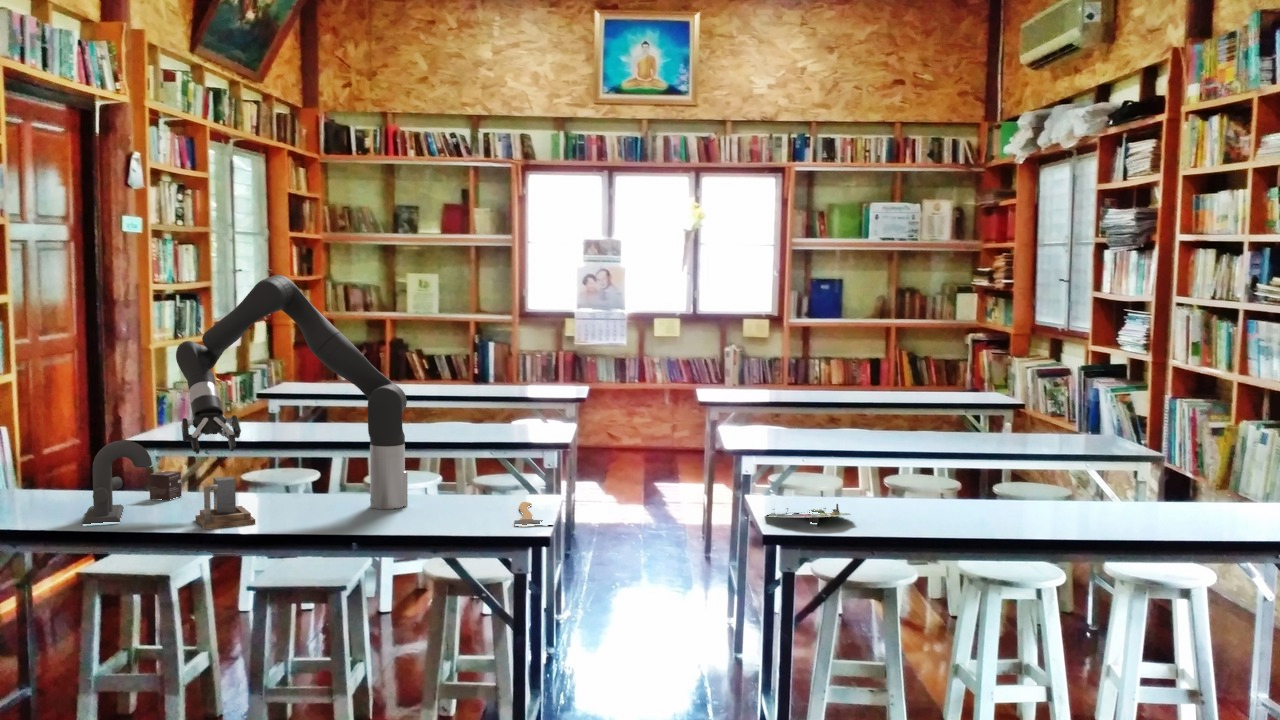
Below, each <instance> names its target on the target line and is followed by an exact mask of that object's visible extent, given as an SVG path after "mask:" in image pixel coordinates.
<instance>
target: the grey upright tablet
mask: <svg viewBox="0 0 1280 720" xmlns="http://www.w3.org/2000/svg"><path fill="white" fill-rule="evenodd" d="M213 485H218V489H216V490H213V509H214V516H216V515H226V514H235V513H236V504H237V503H236V478H235V477H233V475H232V476H218V477H213Z"/></svg>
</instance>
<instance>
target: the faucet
mask: <svg viewBox="0 0 1280 720" xmlns="http://www.w3.org/2000/svg"><path fill="white" fill-rule="evenodd" d="M120 458H126V459H128V460H130V461H131V463H132V464H133V466H134V467H136V468H151V466H153V461H152V458H151V456H150V454H149V452H148V451H147V449H145V448H144V446H143V445H140V444H139V443H137V442H134V441H130V440H125V439H124V440H123V439H122V440H115V441H112V442H110V443H107V444H105V445H104V446H103V447H102V448H101V449H100V450H98V452H97V454H96V455H95V456H94V458H93V459H94V460H93V462H92V499H93V504H92V506H89V507H88V508H87V511H86V513H85V514H84V518H83V520H82V522H81V525H82V524H91V523H103V522H120V523H121V521H120V518H121V519H122V517H121V515H122V516H123V514H122V512H123V513H124V511H123V509H124V510H125V508H124V505H122V504H113V503H114V501H113V491H115V490H119V489H121V488H122V487H123V484H124V483H123V480H122V478H121V477H120V476H114V477H113V470H112V469H113V468H112V467H113V463H114V462H115V461H116V460H117V459H120Z"/></svg>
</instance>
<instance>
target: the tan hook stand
mask: <svg viewBox="0 0 1280 720" xmlns="http://www.w3.org/2000/svg"><path fill="white" fill-rule="evenodd" d="M530 505H532V506H533V504H532V503H531V502H527V501H523V502H521V503H520V504H519V506H518V510H519V509H520V511H521V512H522V513H523V516H522V515H521V517H522V518H521V517H520V518H519V519H520V520H519V519H518V520H514V521H513V522H514V523H513V525H514V524H522V525H527V524H540V521H541V522H542V521H543V520H544V519H543V520H542V519H534V518H533V519H532V516H533V514H532V512H531V511H530V509H529V508H528V509H527V507H528V506H530Z"/></svg>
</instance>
